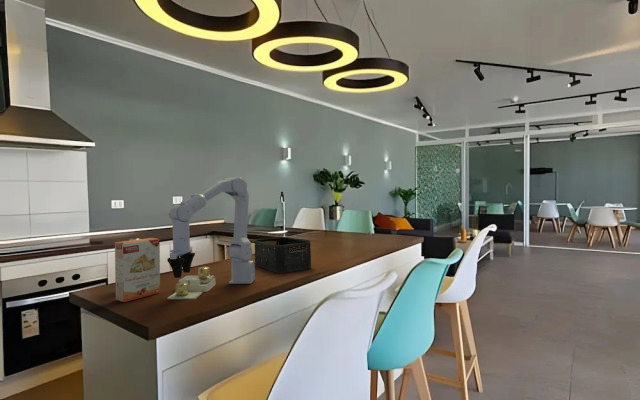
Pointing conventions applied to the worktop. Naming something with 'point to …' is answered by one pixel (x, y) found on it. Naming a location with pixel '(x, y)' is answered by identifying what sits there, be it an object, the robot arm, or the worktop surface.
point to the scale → (199, 285)
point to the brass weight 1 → (182, 289)
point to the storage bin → (283, 254)
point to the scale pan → (197, 278)
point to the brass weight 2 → (203, 272)
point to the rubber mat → (190, 296)
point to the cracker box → (137, 268)
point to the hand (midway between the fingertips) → (182, 274)
